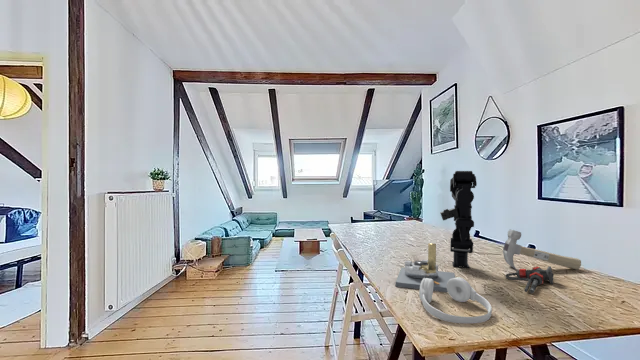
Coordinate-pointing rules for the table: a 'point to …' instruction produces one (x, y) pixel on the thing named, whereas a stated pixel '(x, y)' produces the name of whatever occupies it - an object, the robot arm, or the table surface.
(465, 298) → the headphones
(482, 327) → the table surface
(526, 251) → the hammer
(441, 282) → the housing plate
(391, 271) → the table surface
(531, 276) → the valve
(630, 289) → the table surface
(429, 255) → the brass lever assembly
